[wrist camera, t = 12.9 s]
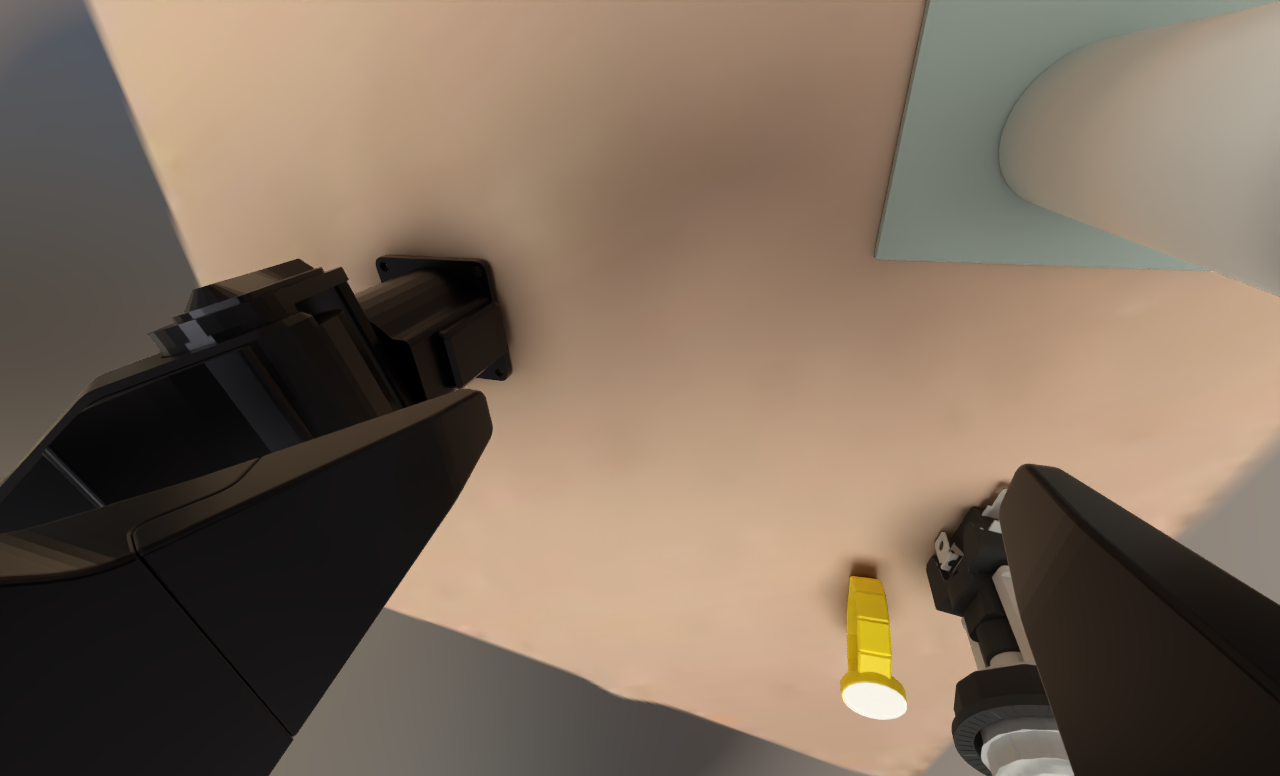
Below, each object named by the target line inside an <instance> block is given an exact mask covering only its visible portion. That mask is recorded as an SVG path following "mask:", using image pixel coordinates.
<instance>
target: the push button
mask: <svg viewBox="0 0 1280 776" xmlns="http://www.w3.org/2000/svg"><path fill="white" fill-rule="evenodd" d="M1006 491H1007V489H1002V491H1001V492H1000V494H999V495H998V497H997V498H996V500H995V501H994V503H993V504H992V506H989V505H987V507H986V509H985V510H980V509H976V508H971V509H970V511H969V513H968V514H967V516H966V517H965V519H964V521H963V522H962V524H961V525H960V527H959V529H958V530H957V532H956V533H955V535H954V537H953V538H952V540H951V542H950V543H949V541H948V538H947V535H946V533H945V532H941V534H940V536H939V537H938V539H937V541H936V542H935V549H936V553H937V556H938V559H937V558H933V557H932V558H931V559H930V561H929V562H928V564H927V567H926V572H927V576H928V580H929V584H930V587H931V591H932V595H933V599H934V603H935V607H936V609H937V610H939V611H943V612H946V613H950V614H953V615H957V616H960V617H962V619H961V621H962V625H963V628H964V629H966V632H967V635H968V638H969V642H970V645H971V648H972V651H973V655H974V658H975V661H976V665H977V668H978V671H975V672H973V673H971V674H970V675H968V676H967V677H965V678H964V679H962V680H961V681H959V682H958V683H957V685H956V692H955V702H954V711H955V716H956V717H955V718H954V720H953V723H952V735H953V739H954V743H955V747H956V749H957V751H958V753H959V754H960V755H961V757H962V758H963V759H964V760H965V761H966V762H967V763H968V764H969V765H971V766H972V767H973V768H975V769H976V770H978V771H980V772H981V773H983V774H985V775H986V776H1074V773H1073V771H1072V768H1071V765H1070V762H1069V759H1068V756H1067V753H1066V750H1065V747H1064V744H1063V742H1062V739H1061V736H1060V733H1059V730H1058V727H1057V724H1056V721H1055V718H1054V715H1053V713H1052V710H1051V707H1050V704H1049V701H1048V698H1047V695H1046V692H1045V689H1044V686H1043V684H1042V681H1041V678H1040V675H1039V672H1038V669H1037V666H1036V663H1035V660H1034V657H1033V655H1032V652H1031V649H1030V646H1029V643H1028V640H1027V637H1026V634H1025V631H1024V628H1023V625H1022V622H1021V618H1020V615H1019V611H1018V607H1017V603H1016V598H1015V593H1014V589H1013V584H1012V579H1011V575H1010V570H1009V565H1008V560H1007V556H1006V551H1005V546H1004V541H1003V537H1002V532H1001V527H1000V522H999V508H1000V505H1001V502H1002V500H1003V498H1004V496H1005V493H1006ZM942 541H943V543H944V546H943V549H942V551H941V548H940V546H941V542H942Z"/></svg>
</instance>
